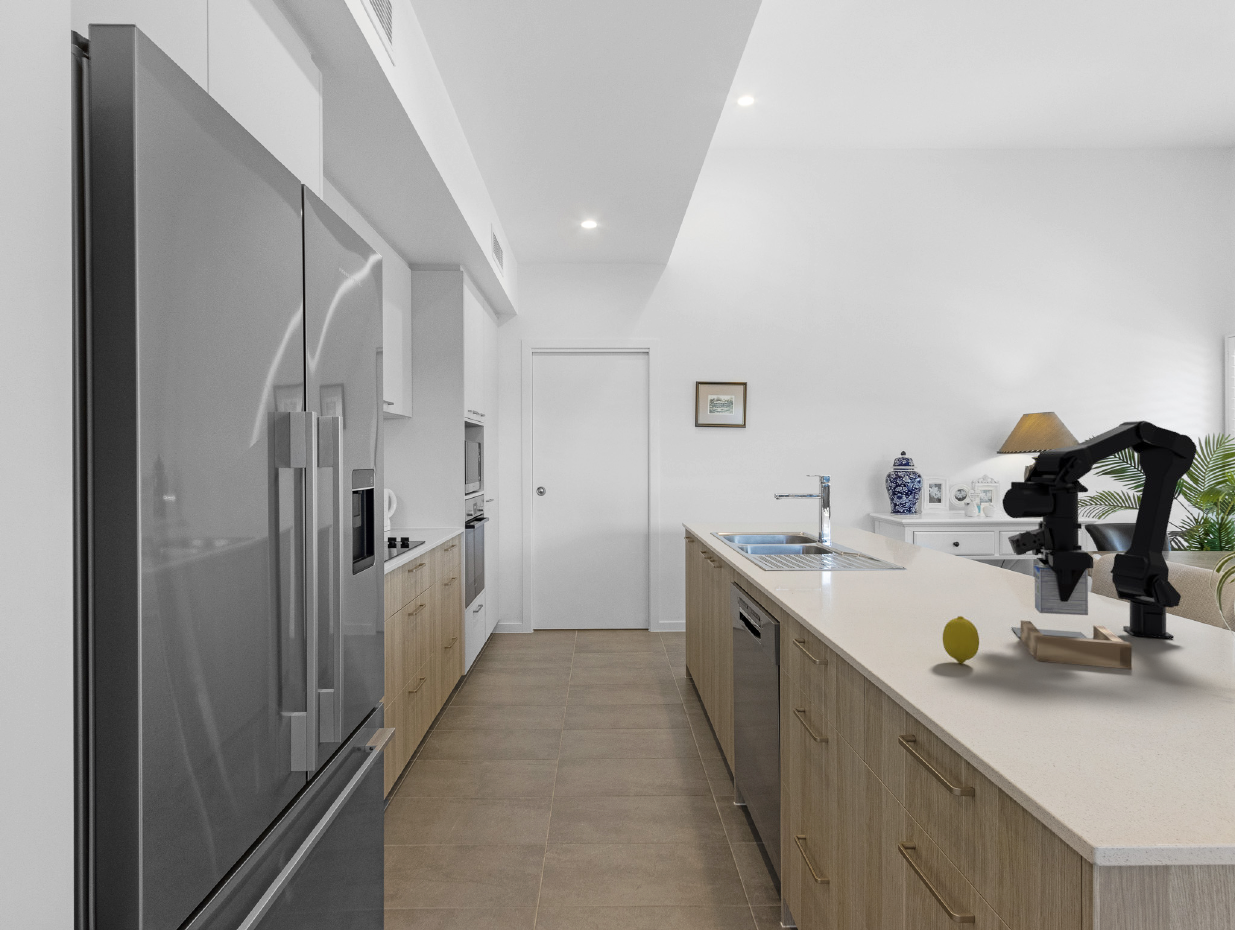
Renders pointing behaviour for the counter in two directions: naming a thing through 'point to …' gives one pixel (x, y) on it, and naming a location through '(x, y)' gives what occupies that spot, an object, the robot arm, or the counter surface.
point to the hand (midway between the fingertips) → (1060, 599)
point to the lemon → (960, 639)
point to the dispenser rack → (1078, 647)
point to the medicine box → (1049, 595)
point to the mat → (1052, 632)
